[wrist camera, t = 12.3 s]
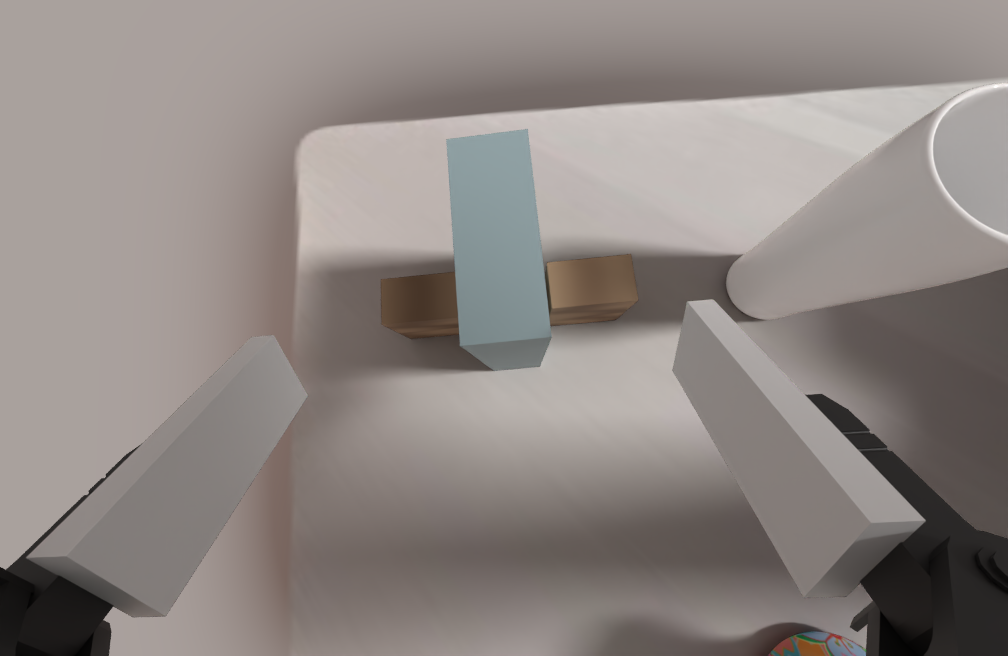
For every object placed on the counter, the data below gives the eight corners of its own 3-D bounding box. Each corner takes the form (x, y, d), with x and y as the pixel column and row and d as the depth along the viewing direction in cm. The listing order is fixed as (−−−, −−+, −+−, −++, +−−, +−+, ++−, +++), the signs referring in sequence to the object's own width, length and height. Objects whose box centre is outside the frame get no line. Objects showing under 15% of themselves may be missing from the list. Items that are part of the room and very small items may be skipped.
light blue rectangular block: (527, 255, 29) (527, 129, 15) (539, 366, 27) (551, 337, 14) (484, 260, 29) (446, 139, 15) (494, 370, 27) (460, 346, 14)
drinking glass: (815, 262, 27) (1151, 107, 13) (793, 344, 26) (1129, 279, 12) (726, 234, 28) (942, 58, 14) (701, 312, 27) (905, 214, 12)
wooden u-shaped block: (610, 282, 28) (631, 254, 22) (615, 320, 28) (638, 300, 22) (409, 302, 29) (380, 279, 23) (410, 338, 28) (381, 324, 23)
